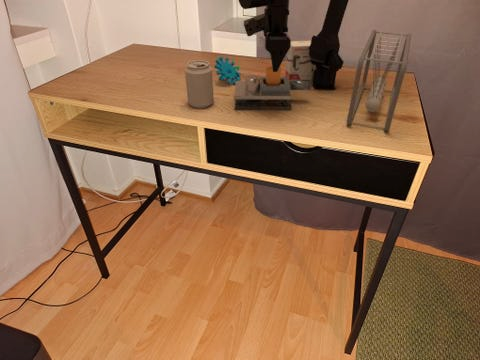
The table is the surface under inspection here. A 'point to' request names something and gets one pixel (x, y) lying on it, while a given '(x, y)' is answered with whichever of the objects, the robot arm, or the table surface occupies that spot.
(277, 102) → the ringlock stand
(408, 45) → the newton's cradle
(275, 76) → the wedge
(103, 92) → the table surface
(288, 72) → the ink box
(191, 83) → the can
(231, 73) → the gear
